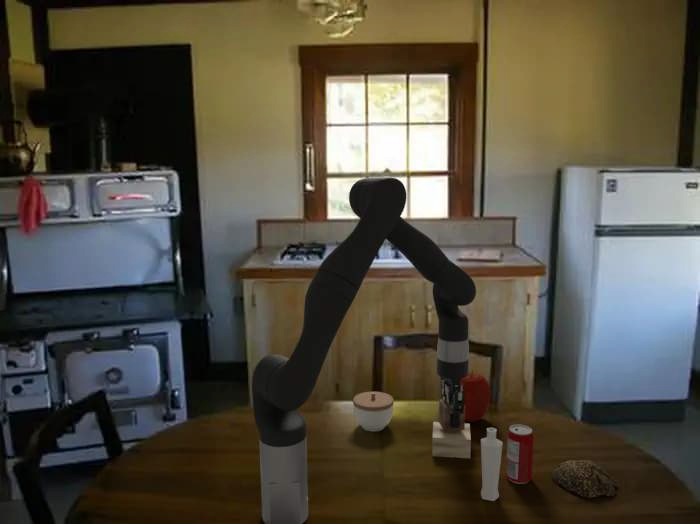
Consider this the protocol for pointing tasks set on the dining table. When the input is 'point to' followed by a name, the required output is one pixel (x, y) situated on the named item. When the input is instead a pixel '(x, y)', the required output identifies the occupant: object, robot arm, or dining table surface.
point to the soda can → (519, 454)
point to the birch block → (451, 442)
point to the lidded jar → (373, 410)
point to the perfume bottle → (490, 464)
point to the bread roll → (584, 478)
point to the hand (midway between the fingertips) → (451, 422)
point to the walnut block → (445, 416)
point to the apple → (475, 396)
